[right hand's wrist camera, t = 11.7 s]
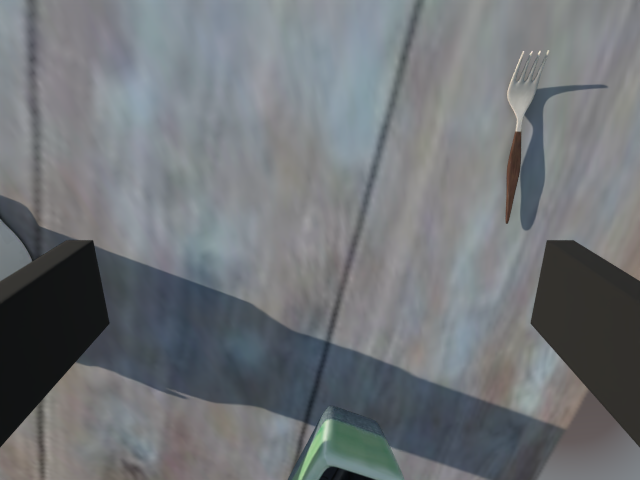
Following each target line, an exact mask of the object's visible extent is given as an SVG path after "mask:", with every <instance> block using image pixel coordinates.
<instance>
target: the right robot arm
mask: <svg viewBox="0 0 640 480" xmlns="http://www.w3.org/2000/svg"><path fill="white" fill-rule="evenodd" d="M108 324H109V319H108V313H107V308H106V303H105V298H104V293H103V288H102V283H101V278H100V273H99V268H98V263H97V258H96V253H95V248H94V243H93V240H66V241H65V242H63V243H62V244H60V245H58V246H57V247H55V248H53V249H52V250H50V251H49V252H47V253H45V254H44V255H42V256H40V257H39V258H37V259H36V260H34V261H32V262H31V263H29V264H27V265H26V266H24V267H22V268H21V269H19V270H18V271H16V272H14V273H13V274H11V275H9V276H8V277H6V278H5V279H3V280H1V281H0V447H1V446H2V445H3V444H4V442H5V441H6V440H7V439H8V438H9V437H10V436H11V434H12V433H13V432H14V431H15V430H16V429H17V428H18V427H19V425H20V424H21V423H22V422H23V421H24V420H25V419H26V417H27V416H28V415H29V414H30V413H31V412H32V411H33V410H34V408H35V407H36V406H37V405H38V404H39V403H40V402H41V400H42V399H43V398H44V397H45V396H46V395H47V394H48V393H49V391H50V390H51V389H52V388H53V387H54V386H55V385H56V383H57V382H58V381H59V380H60V379H61V378H62V377H63V376H64V374H65V373H66V372H67V371H68V370H69V369H70V368H71V366H72V365H73V364H74V363H75V362H76V361H77V360H78V358H79V357H80V356H81V355H82V354H83V353H84V352H85V351H86V349H87V348H88V347H89V346H90V345H91V344H92V343H93V341H94V340H95V339H96V338H97V337H98V336H99V335H100V334H101V332H102V331H103V330H104V329H105V328H106V327H107V326H108ZM531 324H532V326H533V327H534V328H535V329H536V330H537V331H538V332H539V334H540V335H541V336H542V337H543V338H544V339H545V340H546V341H547V343H548V344H549V345H550V346H551V347H552V348H553V349H554V351H555V352H556V353H557V354H558V355H559V356H560V357H561V358H562V360H563V361H564V362H565V363H566V364H567V365H568V366H569V368H570V369H571V370H572V371H573V372H574V373H575V374H576V376H577V377H578V378H579V379H580V380H581V381H582V382H583V383H584V385H585V386H586V387H587V388H588V389H589V390H590V391H591V393H592V394H593V395H594V396H595V397H596V398H597V399H598V400H599V402H600V403H601V404H602V405H603V406H604V407H605V408H606V410H607V411H608V412H609V413H610V414H611V415H612V416H613V417H614V419H615V420H616V421H617V422H618V423H619V424H620V425H621V427H622V428H623V429H624V430H625V431H626V432H627V433H628V434H629V436H630V437H631V438H632V439H633V440H634V441H635V442H636V444H637V445H638V446H639V447H640V281H639V280H637V279H635V278H634V277H632V276H631V275H629V274H627V273H626V272H624V271H622V270H621V269H619V268H618V267H616V266H614V265H613V264H611V263H609V262H608V261H606V260H604V259H603V258H601V257H600V256H598V255H596V254H595V253H593V252H591V251H590V250H588V249H587V248H585V247H583V246H582V245H580V244H578V243H577V242H575V241H574V240H547V243H546V248H545V253H544V258H543V263H542V268H541V273H540V278H539V283H538V288H537V293H536V298H535V303H534V308H533V313H532V318H531Z"/></svg>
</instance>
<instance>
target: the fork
mask: <svg viewBox="0 0 640 480" xmlns="http://www.w3.org/2000/svg"><path fill="white" fill-rule="evenodd" d="M532 52H533V51H531V53H530V55H529V58H528V60H527V62H526V64H525V67H524V69H523V71H522V74H521V76H520V78H519V80H518V81H516V77H517V73H518V70H519V67H520V64H521V61H522V57H523V55H524V51H523V53H522V55H521V57H520V60H519V62H518V64H517V67H516V69H515V72H514V74H513V77H512V80H511V82H510V85H509V88H508V93H507V96H508V101H509V103H510V105H511V107H512V109H513V111H514V113H515V115H516V118H517V126H516V131H515V135H514V139H513V143H512V147H511V151H510V156H509V161H508V166H507V198H506V224H508V221H509V217H510V213H511V209H512V204H513V199H514V195H515V190H516V186H517V182H518V177H519V172H520V164H521V125H522V119H523V116H524V114H525V112H526V111H527V109H528V107H529V105H530V104H531V102H532V100H533V98H534V96H535V93H536V90H537V86H538V82H539V78H540V75H541V72H542V69H543V67H544V64H545V61H546V58H547V56H548V53H549V50H548V52H547V54H546V56H545V58H544V60H543V62H542V64H541V66H540V68H539V71H538V73H537V75H536V77H535V79H534V80H533V81H532V76H533V73H534V70H535V67H536V64H537V61H538V58H539V55H540V53H541V51H540V52H539V54H538V56H537V58H536V60H535V62H534V64H533V66H532V69H531V71H530V73H529V76H528V78H527V80H526V81H524V76H525V73H526V70H527V67H528V64H529V61H530V58H531V55H532Z"/></svg>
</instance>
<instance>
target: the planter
mask: <svg viewBox="0 0 640 480" xmlns="http://www.w3.org/2000/svg"><path fill="white" fill-rule="evenodd" d="M288 480H404V477H403V475H402V472H401V470H400V468H399V465H398V463H397V461H396V459H395V457H394V455H393V453H392V450H391V448H390V446H389V444H388V442H387V440H386V438H385V436H384V434H383V432H382V430H381V428H380V426H379V425H378V423H377V422H376V421H374V420H372V419H369V418H366V417H363V416H361V415H358V414H355V413H352V412H349V411H346V410H343V409H340V408H337V407H334V406H329V407H328V408H327V409H326V410H325V411H324V413H323V415H322V417H321V418H320V420H319V422H318V424H317V426H316V428H315V429H314V431H313V433H312V435H311V437H310V439H309V441H308V443H307V444H306V446H305V448H304V450H303V452H302V454H301V456H300V458H299V459H298V461H297V463H296V465H295V467H294V469H293V471H292V473H291V474H290V476H289V478H288Z"/></svg>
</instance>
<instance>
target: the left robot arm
mask: <svg viewBox="0 0 640 480" xmlns="http://www.w3.org/2000/svg"><path fill="white" fill-rule="evenodd" d="M31 262H32V259H31V257H30V255H29V253H28V251H27V249H26V248H25V246H24V245H23V243H22V242H21V241H20V239H19V238H18V237H17V236H16V235H15V234H14V232H13V231H12V230H11V229H10V228H9V227H7V226H6V225H5V224H4V222H3V221H2V220H1V219H0V281H1V280H3V279H5V278H6V277H8V276H9V275H11V274H13V273H14V272H16V271H18V270H19V269H21V268H22V267H24V266H26V265H27V264H29V263H31Z"/></svg>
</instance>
